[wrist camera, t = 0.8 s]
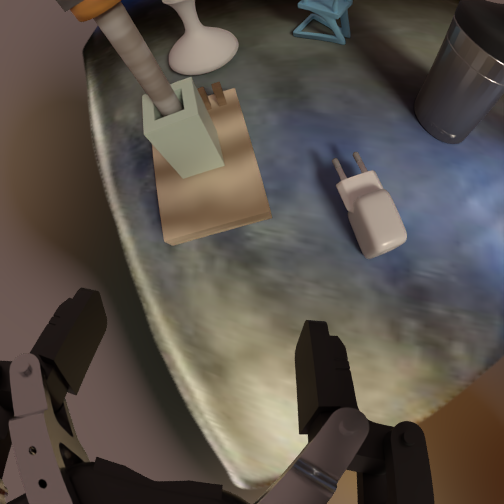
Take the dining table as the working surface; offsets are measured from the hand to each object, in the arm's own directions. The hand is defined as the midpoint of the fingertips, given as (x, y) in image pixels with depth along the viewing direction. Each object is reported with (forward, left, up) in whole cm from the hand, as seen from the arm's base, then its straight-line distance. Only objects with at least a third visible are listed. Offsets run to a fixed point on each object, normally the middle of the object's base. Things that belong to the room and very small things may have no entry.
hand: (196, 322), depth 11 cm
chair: (-43, -11, -21) cm, 49 cm away
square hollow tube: (-12, -14, -18) cm, 26 cm away
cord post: (-12, -14, -21) cm, 28 cm away
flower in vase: (-29, -25, -21) cm, 44 cm away
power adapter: (-15, +5, -21) cm, 27 cm away
